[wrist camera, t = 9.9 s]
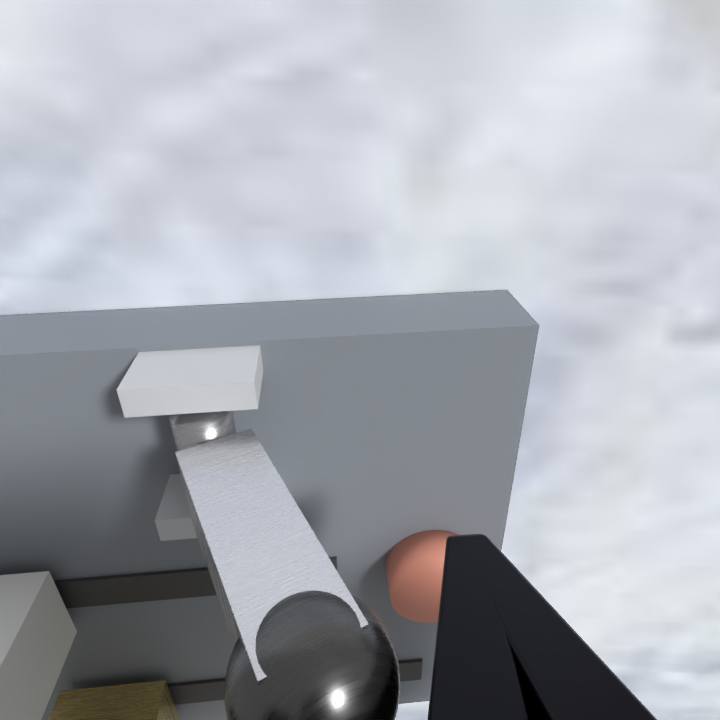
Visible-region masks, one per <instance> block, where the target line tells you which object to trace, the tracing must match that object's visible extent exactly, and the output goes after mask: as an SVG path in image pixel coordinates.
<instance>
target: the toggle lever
mask: <svg viewBox="0 0 720 720" xmlns="http://www.w3.org/2000/svg"><path fill="white" fill-rule="evenodd" d="M169 420H170V424H171V428H172V432H173V436H174V440H175V444H176V449H177V452H175V454H176V458H177V462H178V466H179V470H180V474H181V478H182V482H183V486H184V491H185V495H186V499H187V503H188V507H189V511H190V515H191V519H192V523H193V527H194V530H195V533H196V536H197V538H198V541H199V544H200V547H201V550H202V553H203V556H204V559H205V562H206V565H207V568H208V571H209V574H210V576H211V579H212V582H213V585H214V588H215V591H216V594H217V597H218V600H219V603H220V606H221V609H222V612H223V614H224V617H225V620H226V623H227V626H228V629H229V632H230V635H231V638H232V641H233V644H234V648H233V650H232V653H231V656H230V658H229V662H228V666H227V671H226V676H225V690H224V700H225V710H226V716H227V720H395V717H396V713H397V710H398V703H399V696H400V673H399V664H398V660H397V655H396V652H395V648H394V646H393V643H392V640H391V638H390V636H389V634H388V632H387V630H386V628H385V626H384V625H383V623H382V622H381V620H380V619H379V618H378V616H377V615H376V614H375V613H374V612H373V611H372V610H371V609H370V608H369V607H368V606H367V605H366V604H365V603H363V602H362V601H361V600H359V599H358V598H356V597H355V596H353V595H351V594H350V592H349V590H348V589H347V587H346V585H345V584H344V582H343V580H342V579H341V577H340V575H339V574H338V572H337V570H336V569H335V567H334V565H333V564H332V562H331V560H330V559H329V557H328V555H327V554H326V552H325V550H324V549H323V547H322V545H321V544H320V542H319V540H318V539H317V537H316V535H315V534H314V532H313V530H312V529H311V527H310V525H309V524H308V522H307V520H306V519H305V517H304V515H303V514H302V512H301V510H300V509H299V507H298V505H297V504H296V502H295V500H294V499H293V497H292V495H291V494H290V492H289V490H288V489H287V487H286V485H285V484H284V482H283V480H282V479H281V477H280V475H279V474H278V472H277V470H276V469H275V467H274V465H273V464H272V462H271V460H270V458H269V457H268V455H267V453H266V452H265V450H264V448H263V447H262V445H261V443H260V442H259V440H258V438H257V437H256V435H255V433H254V432H253V430H252V428H251V429H248V430H245V431H242V432H238V433H236V427H235V421H234V415H233V411H220V412H204V413H189V414H174V415H169Z"/></svg>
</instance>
